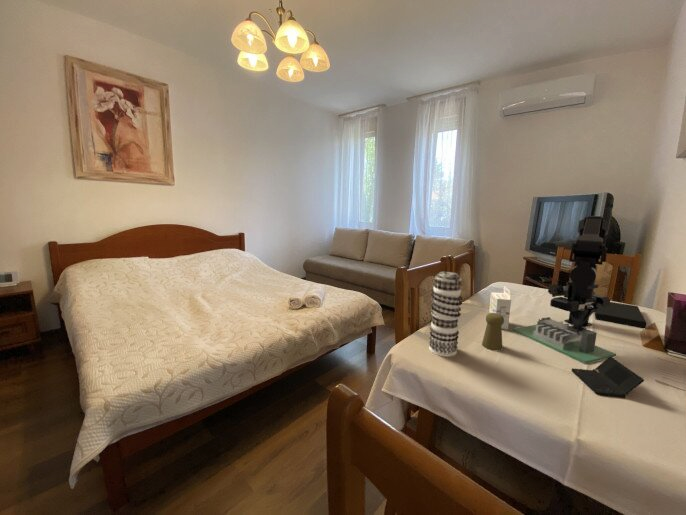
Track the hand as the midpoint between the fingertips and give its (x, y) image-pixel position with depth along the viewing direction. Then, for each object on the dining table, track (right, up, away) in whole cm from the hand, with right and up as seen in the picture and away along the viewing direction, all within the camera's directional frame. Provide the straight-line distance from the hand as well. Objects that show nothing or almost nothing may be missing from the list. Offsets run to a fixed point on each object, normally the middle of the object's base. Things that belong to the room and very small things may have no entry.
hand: (576, 327), depth 92 cm
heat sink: (-1, -5, +5) cm, 7 cm away
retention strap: (-1, -1, +5) cm, 5 cm away
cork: (-26, -7, +3) cm, 27 cm away
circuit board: (-1, -6, +6) cm, 8 cm away
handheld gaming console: (-7, -11, -17) cm, 21 cm away
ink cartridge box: (-15, -4, +20) cm, 25 cm away
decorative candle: (-43, -7, 0) cm, 43 cm away
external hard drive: (+41, -3, +30) cm, 51 cm away
